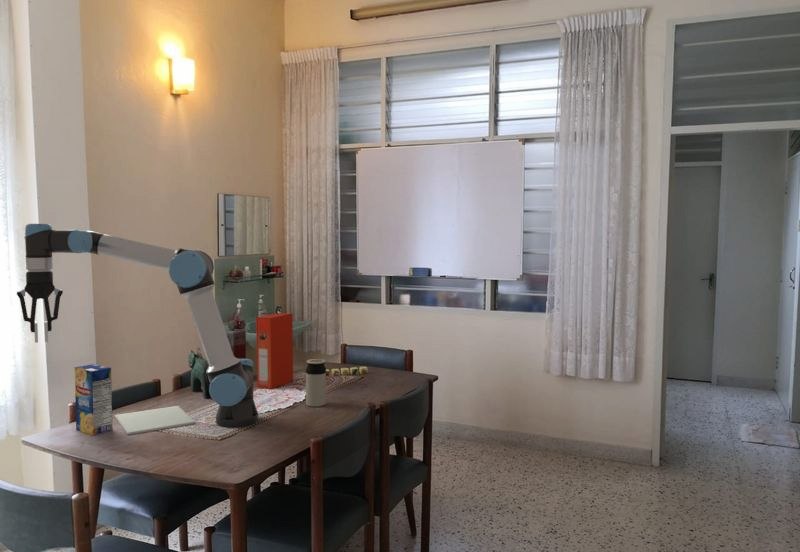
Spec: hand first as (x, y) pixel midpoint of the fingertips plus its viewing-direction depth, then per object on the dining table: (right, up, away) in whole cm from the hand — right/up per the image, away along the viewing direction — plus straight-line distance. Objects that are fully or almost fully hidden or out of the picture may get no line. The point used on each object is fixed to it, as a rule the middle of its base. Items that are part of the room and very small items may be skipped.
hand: (41, 341), depth 195 cm
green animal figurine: (+33, -29, +59) cm, 74 cm away
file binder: (+61, -28, +77) cm, 102 cm away
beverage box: (+12, -32, +11) cm, 36 cm away
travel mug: (+85, -31, +44) cm, 100 cm away
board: (+28, -31, +22) cm, 48 cm away
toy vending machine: (+38, -28, +85) cm, 98 cm away
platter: (+93, -28, +96) cm, 136 cm away
